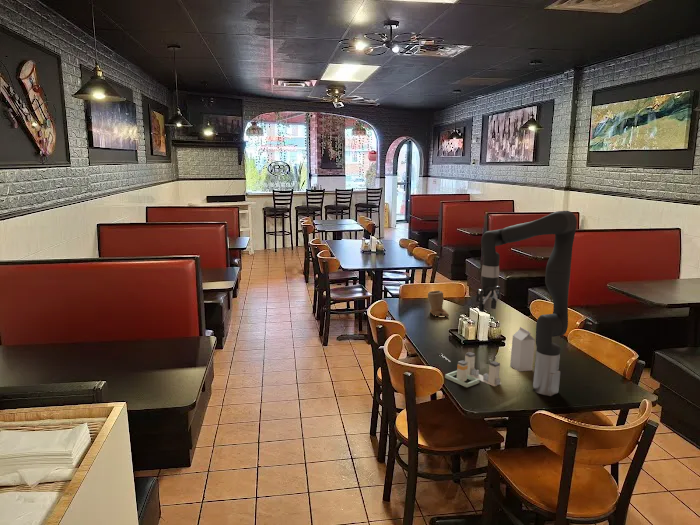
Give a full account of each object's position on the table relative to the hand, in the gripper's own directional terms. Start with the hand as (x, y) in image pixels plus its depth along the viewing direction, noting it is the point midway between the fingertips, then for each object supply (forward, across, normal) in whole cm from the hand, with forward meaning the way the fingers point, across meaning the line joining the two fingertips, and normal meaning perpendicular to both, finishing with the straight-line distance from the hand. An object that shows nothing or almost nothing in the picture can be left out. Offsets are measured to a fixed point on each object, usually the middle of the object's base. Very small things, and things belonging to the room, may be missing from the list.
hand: (487, 310), depth 231 cm
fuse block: (+28, -12, -8) cm, 32 cm away
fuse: (+27, -21, -5) cm, 35 cm away
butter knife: (+29, -6, +13) cm, 32 cm away
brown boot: (+28, +46, +71) cm, 89 cm away
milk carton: (+28, +15, -10) cm, 34 cm away
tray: (+28, -21, -5) cm, 35 cm away
